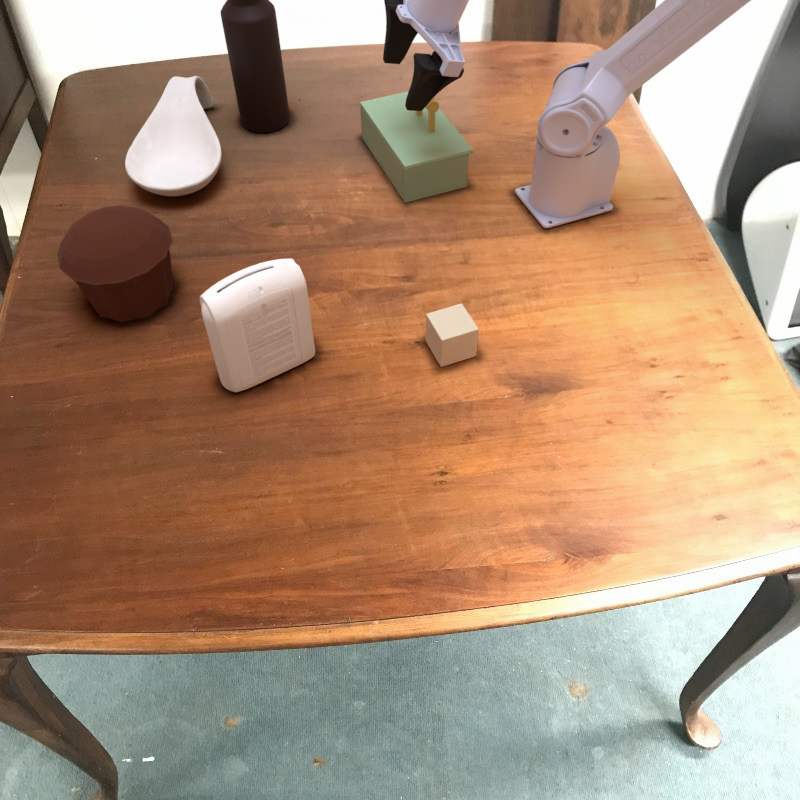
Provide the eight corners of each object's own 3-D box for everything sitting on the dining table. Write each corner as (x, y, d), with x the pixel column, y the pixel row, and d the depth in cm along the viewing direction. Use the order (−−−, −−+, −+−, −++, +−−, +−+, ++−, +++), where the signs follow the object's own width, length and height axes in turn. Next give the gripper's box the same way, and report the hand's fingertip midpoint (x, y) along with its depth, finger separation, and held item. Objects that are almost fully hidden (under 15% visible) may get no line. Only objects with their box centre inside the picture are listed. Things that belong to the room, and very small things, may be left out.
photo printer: (302, 332, 82) (288, 239, 72) (323, 357, 79) (310, 264, 70) (213, 373, 78) (185, 281, 68) (232, 400, 76) (205, 310, 66)
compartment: (419, 124, 106) (419, 92, 102) (467, 187, 97) (469, 154, 93) (361, 138, 104) (360, 105, 100) (405, 203, 95) (404, 170, 91)
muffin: (98, 346, 81) (65, 273, 73) (64, 285, 86) (30, 213, 79) (203, 301, 85) (182, 228, 77) (164, 246, 90) (140, 173, 83)
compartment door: (423, 91, 102) (423, 57, 99) (472, 153, 93) (475, 118, 90) (360, 105, 100) (358, 71, 97) (404, 170, 91) (404, 135, 88)
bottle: (300, 115, 108) (280, -38, 92) (269, 139, 104) (244, -16, 89) (261, 102, 110) (237, -50, 95) (230, 125, 107) (199, -29, 91)
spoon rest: (222, 209, 95) (210, 158, 89) (126, 213, 95) (108, 162, 89) (237, 105, 110) (228, 56, 104) (154, 108, 109) (140, 59, 104)
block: (460, 330, 81) (462, 302, 78) (476, 356, 79) (479, 329, 76) (425, 340, 80) (425, 313, 77) (440, 367, 78) (441, 340, 75)
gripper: (390, -75, 79) (351, 39, 90) (441, 20, 74) (393, 129, 85) (448, -66, 83) (404, 43, 94) (501, 26, 77) (447, 131, 88)
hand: (402, 84), depth 89 cm, fingers open, 7 cm apart
